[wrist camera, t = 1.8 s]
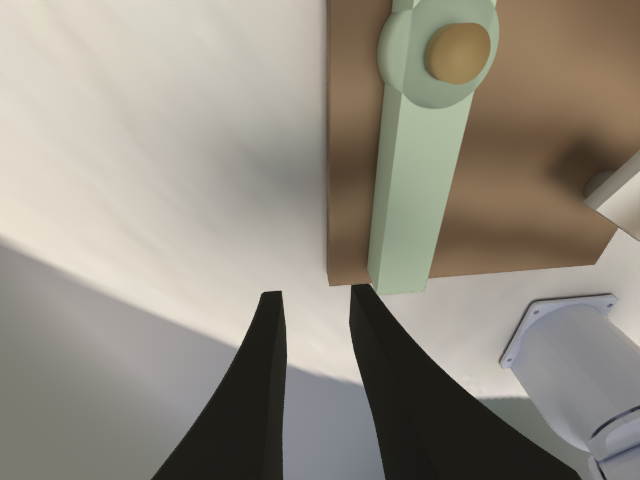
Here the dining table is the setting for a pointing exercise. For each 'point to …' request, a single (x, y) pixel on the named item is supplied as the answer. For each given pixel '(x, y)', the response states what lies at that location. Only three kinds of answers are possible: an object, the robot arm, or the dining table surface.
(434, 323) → the dining table surface
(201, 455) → the robot arm
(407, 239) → the link
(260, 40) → the dining table surface
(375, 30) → the board
